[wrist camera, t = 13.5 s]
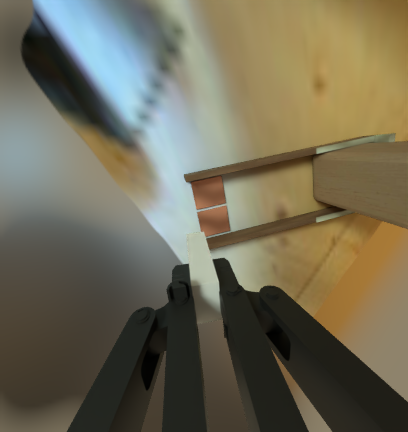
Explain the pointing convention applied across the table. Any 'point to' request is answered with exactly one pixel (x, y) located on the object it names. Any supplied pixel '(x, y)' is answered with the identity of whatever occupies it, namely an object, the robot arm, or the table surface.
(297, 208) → the table surface
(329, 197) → the wooden block
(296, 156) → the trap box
